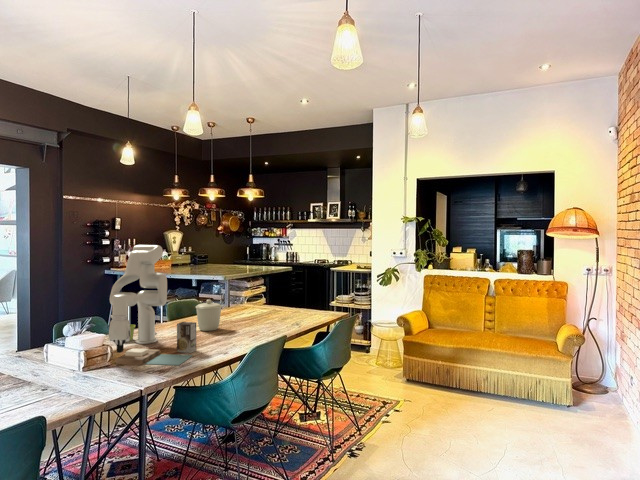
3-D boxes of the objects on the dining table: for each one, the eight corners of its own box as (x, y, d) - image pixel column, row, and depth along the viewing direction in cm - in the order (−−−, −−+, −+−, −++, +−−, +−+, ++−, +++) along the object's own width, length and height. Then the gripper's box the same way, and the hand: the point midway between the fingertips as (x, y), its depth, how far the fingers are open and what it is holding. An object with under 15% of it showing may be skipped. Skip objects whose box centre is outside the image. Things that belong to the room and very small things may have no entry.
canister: (225, 327, 313) (225, 298, 313) (217, 332, 295) (217, 301, 295) (201, 326, 315) (201, 297, 314) (191, 332, 297) (191, 301, 296)
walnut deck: (135, 353, 243) (135, 348, 243) (159, 354, 242) (159, 349, 242) (115, 363, 223) (115, 359, 223) (141, 364, 222) (141, 359, 222)
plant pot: (129, 342, 268) (129, 327, 268) (115, 341, 270) (115, 327, 270) (138, 338, 277) (138, 324, 277) (125, 337, 279) (125, 324, 279)
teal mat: (160, 354, 240) (160, 354, 240) (192, 355, 239) (192, 355, 239) (144, 364, 223) (144, 363, 223) (178, 365, 221) (178, 364, 221)
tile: (132, 352, 236) (132, 348, 236) (148, 352, 235) (148, 348, 235) (125, 355, 229) (125, 351, 229) (141, 356, 228) (141, 352, 228)
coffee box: (196, 350, 250) (197, 322, 250) (190, 353, 244) (190, 324, 244) (182, 349, 253) (183, 321, 253) (176, 352, 247) (176, 323, 246)
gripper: (102, 318, 230) (102, 353, 230) (129, 319, 229) (129, 354, 229) (110, 316, 237) (110, 349, 238) (137, 316, 236) (136, 350, 236)
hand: (120, 352), depth 233 cm, fingers closed
